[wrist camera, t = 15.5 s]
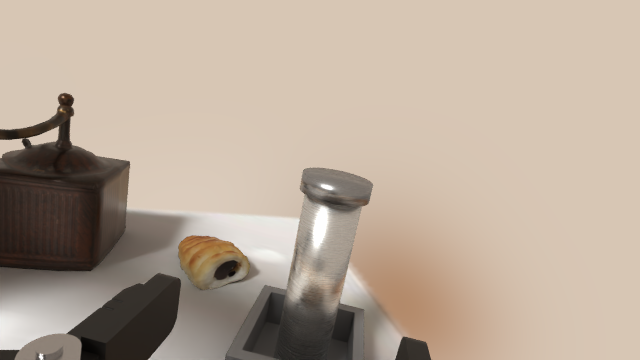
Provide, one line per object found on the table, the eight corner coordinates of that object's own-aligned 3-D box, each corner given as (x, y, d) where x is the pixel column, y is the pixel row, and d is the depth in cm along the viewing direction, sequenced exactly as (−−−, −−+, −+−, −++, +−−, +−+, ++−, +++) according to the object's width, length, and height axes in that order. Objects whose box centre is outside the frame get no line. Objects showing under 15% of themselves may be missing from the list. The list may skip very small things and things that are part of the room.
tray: (217, 405, 23) (225, 355, 22) (258, 323, 32) (264, 285, 31) (350, 442, 23) (363, 391, 22) (354, 348, 31) (364, 309, 30)
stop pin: (259, 378, 25) (296, 176, 21) (276, 335, 29) (309, 164, 26) (325, 396, 24) (373, 193, 21) (332, 349, 29) (372, 177, 26)
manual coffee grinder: (27, 221, 42) (27, 67, 38) (127, 230, 45) (137, 87, 40) (-91, 296, 27) (-112, 58, 23) (69, 303, 30) (76, 91, 26)
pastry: (162, 255, 41) (165, 225, 40) (215, 246, 46) (218, 219, 45) (198, 296, 35) (202, 262, 34) (255, 281, 39) (260, 250, 38)
